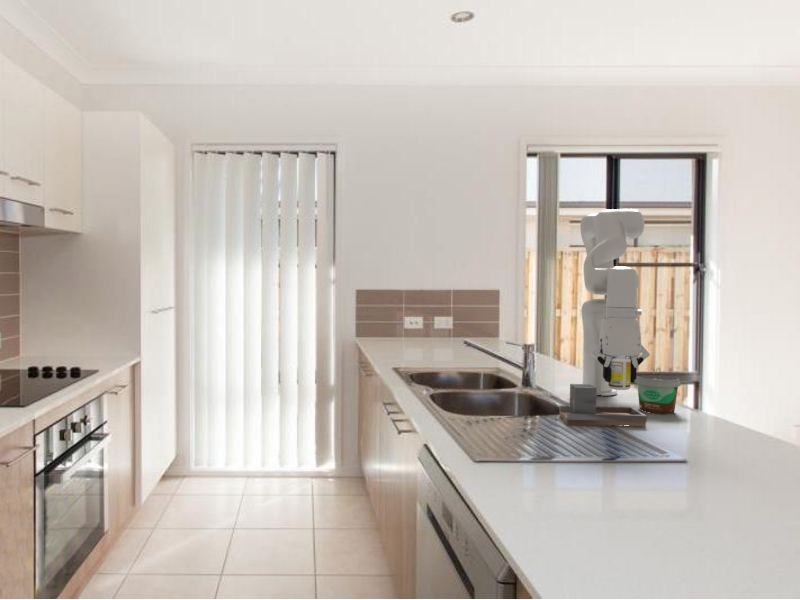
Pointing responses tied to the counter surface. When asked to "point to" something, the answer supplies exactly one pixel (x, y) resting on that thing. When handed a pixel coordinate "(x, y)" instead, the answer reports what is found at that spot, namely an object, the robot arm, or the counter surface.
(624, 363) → the supplement bottle
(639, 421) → the wooden tray
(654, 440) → the counter surface
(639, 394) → the food container
